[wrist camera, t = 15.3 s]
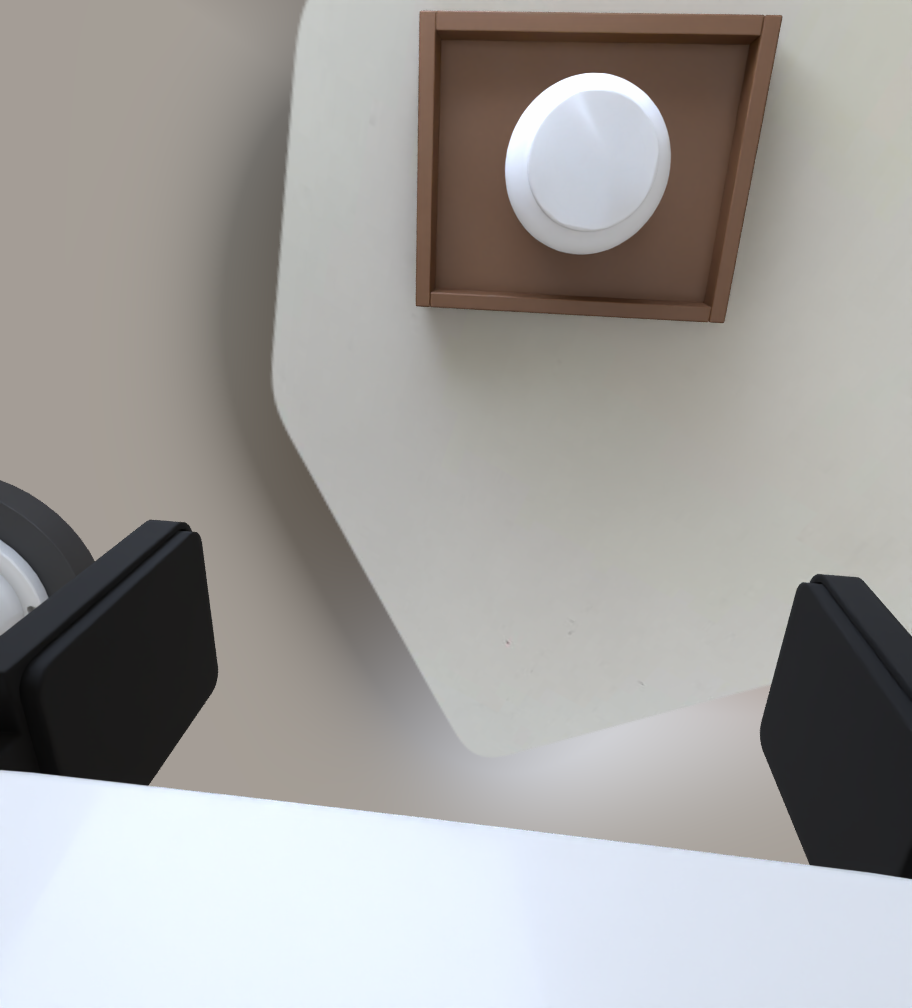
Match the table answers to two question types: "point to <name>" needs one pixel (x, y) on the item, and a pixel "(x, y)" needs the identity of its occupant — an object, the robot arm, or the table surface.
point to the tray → (500, 104)
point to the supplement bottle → (587, 163)
